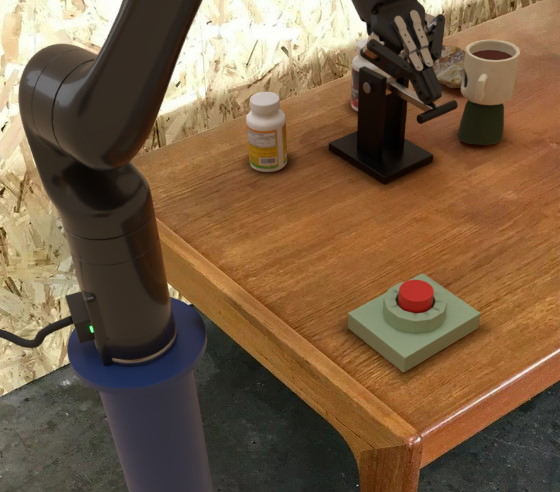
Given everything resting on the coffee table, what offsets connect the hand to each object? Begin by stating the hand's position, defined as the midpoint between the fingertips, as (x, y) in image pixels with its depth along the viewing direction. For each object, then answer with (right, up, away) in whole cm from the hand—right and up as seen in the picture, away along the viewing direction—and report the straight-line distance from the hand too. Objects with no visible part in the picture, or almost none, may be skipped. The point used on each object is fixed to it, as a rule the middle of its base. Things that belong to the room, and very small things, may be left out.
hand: (434, 100), depth 99 cm
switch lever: (-3, +1, +4) cm, 5 cm away
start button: (-5, -26, -15) cm, 31 cm away
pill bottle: (-5, +7, +24) cm, 26 cm away
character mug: (+10, 0, +16) cm, 19 cm away
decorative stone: (+10, +13, +30) cm, 34 cm away
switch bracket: (-5, -3, +14) cm, 15 cm away
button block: (-5, -29, -12) cm, 32 cm away
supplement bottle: (-21, -4, +14) cm, 25 cm away
